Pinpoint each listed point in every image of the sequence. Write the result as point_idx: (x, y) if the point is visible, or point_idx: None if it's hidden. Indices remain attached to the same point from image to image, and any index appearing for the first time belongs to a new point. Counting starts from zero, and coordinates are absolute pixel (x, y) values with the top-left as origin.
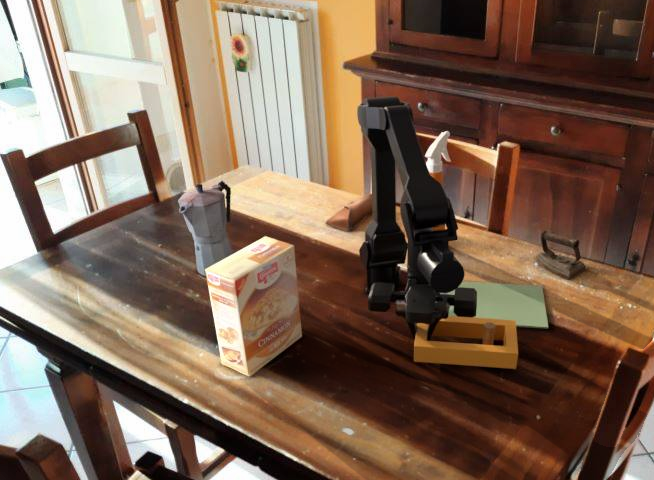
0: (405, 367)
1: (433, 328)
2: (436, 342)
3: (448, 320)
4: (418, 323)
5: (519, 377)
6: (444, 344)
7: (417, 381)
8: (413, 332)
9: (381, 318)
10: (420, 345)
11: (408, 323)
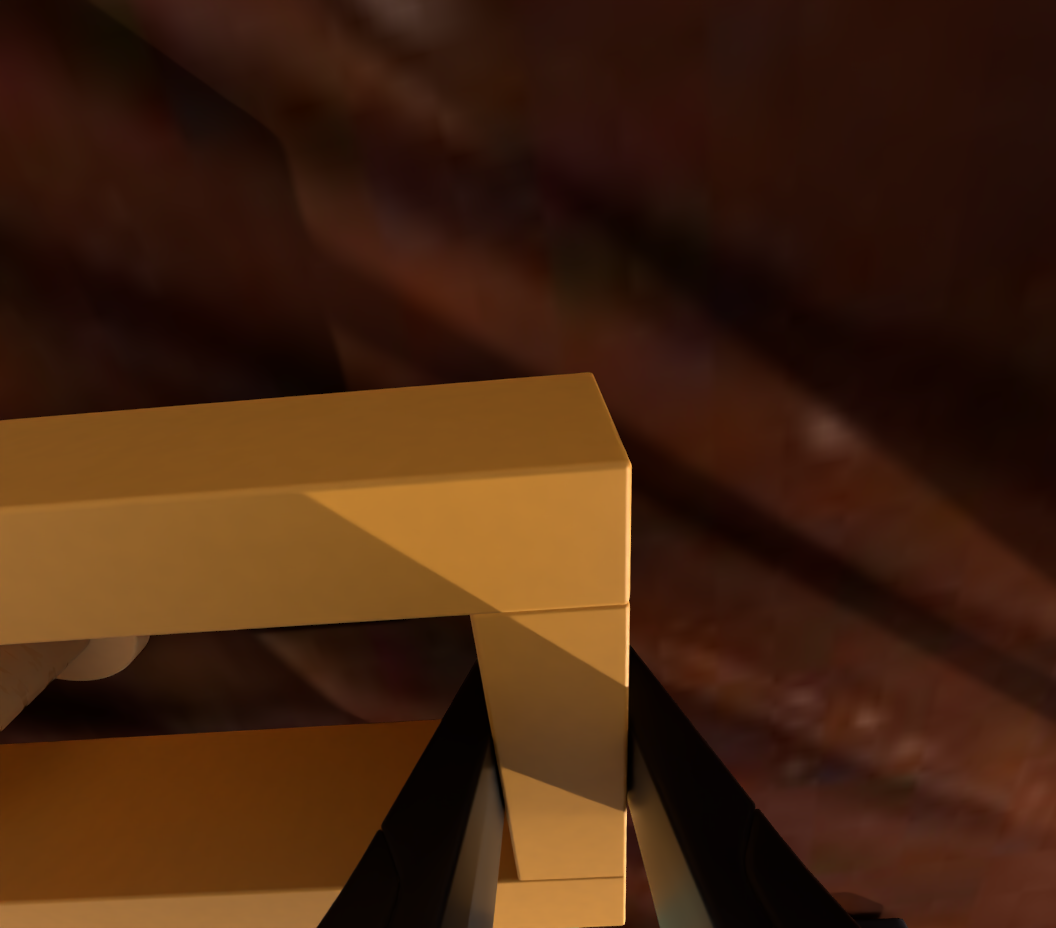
0: (659, 343)
1: (395, 825)
2: (315, 600)
3: (330, 898)
4: (616, 838)
5: None
6: (190, 582)
7: (513, 121)
8: (661, 721)
9: (832, 792)
10: (532, 496)
11: (802, 882)
